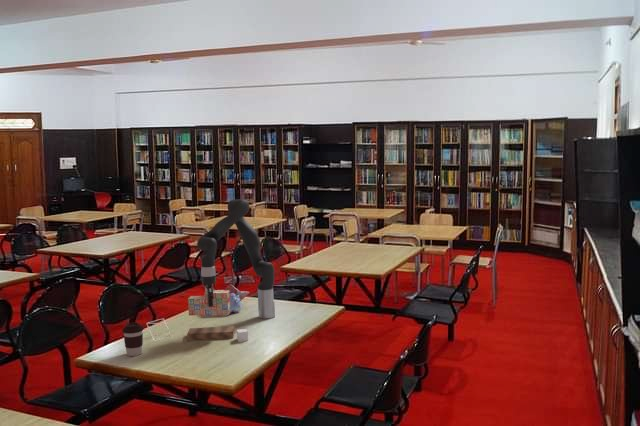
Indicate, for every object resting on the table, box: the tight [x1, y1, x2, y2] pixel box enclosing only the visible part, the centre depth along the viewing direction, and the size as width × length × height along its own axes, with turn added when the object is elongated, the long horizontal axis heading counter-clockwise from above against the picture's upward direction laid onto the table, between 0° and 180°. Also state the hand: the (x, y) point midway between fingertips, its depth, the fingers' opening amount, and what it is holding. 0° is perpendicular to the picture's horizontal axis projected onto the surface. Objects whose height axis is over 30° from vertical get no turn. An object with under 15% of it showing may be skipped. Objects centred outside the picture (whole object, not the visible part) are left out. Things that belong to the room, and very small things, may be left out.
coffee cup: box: [121, 322, 144, 357], centre depth 284 cm, size 10×10×15 cm
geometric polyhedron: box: [146, 318, 172, 342], centre depth 309 cm, size 12×11×9 cm
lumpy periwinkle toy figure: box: [223, 283, 251, 315], centre depth 360 cm, size 20×22×18 cm
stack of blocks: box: [187, 289, 231, 316], centre depth 307 cm, size 21×6×12 cm, turn 87°
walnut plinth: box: [186, 325, 236, 341], centre depth 309 cm, size 24×10×4 cm, turn 94°
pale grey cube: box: [236, 328, 249, 343], centre depth 302 cm, size 5×5×5 cm
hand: (210, 304), depth 308 cm, fingers closed on stack of blocks, 7 cm apart
